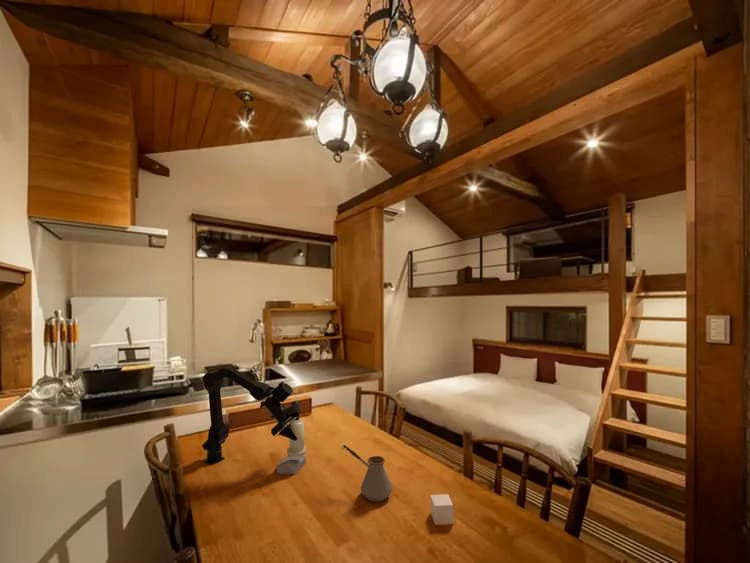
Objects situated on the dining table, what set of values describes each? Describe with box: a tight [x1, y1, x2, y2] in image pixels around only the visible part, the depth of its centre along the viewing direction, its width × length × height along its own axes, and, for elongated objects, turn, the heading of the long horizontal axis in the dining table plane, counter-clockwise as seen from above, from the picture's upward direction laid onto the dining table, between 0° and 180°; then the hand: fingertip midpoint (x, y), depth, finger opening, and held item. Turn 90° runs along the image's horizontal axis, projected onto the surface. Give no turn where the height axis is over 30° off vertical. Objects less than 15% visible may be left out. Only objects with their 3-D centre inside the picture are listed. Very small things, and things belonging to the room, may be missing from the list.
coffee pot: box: [341, 444, 393, 503], centre depth 128 cm, size 21×12×15 cm, turn 58°
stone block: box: [275, 455, 307, 476], centre depth 146 cm, size 12×5×10 cm
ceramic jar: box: [286, 419, 307, 457], centre depth 145 cm, size 8×8×12 cm
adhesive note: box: [430, 493, 454, 526], centre depth 112 cm, size 6×6×6 cm
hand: (299, 437), depth 145 cm, fingers closed on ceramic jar, 6 cm apart
